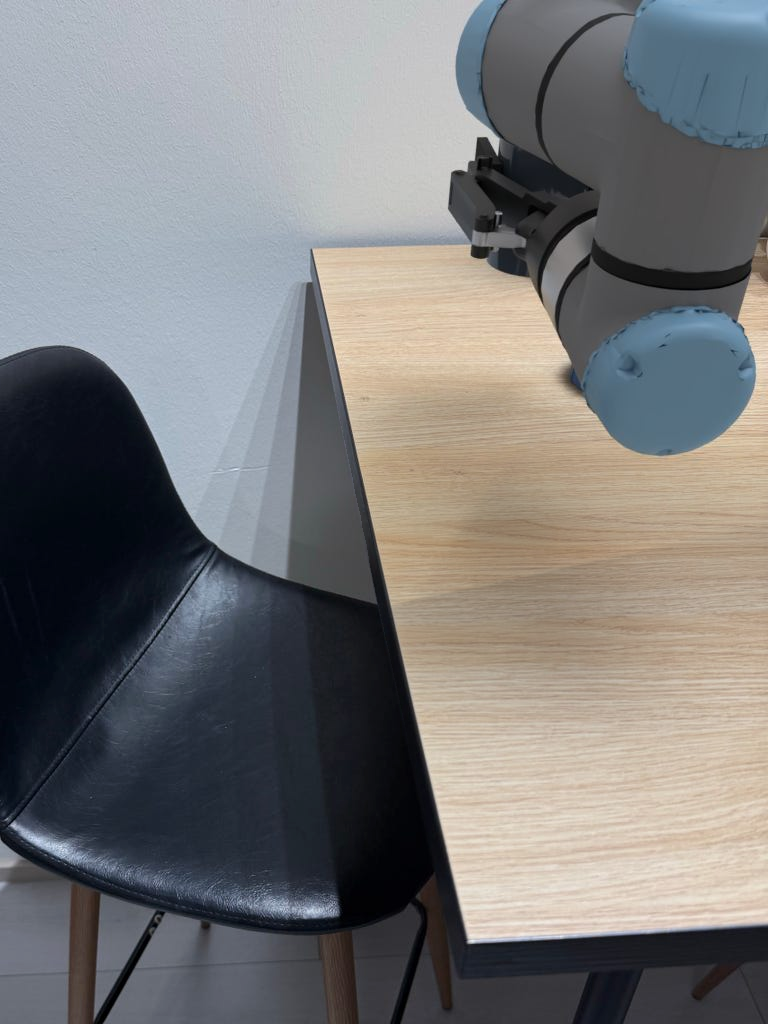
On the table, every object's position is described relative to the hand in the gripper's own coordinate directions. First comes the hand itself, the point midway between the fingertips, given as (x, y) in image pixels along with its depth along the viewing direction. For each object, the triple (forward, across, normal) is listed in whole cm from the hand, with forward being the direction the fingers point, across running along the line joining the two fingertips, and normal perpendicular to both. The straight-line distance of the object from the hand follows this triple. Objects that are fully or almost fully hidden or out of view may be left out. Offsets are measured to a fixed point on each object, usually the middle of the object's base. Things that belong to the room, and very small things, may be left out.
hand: (530, 155), depth 78 cm
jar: (-5, 0, -6) cm, 8 cm away
